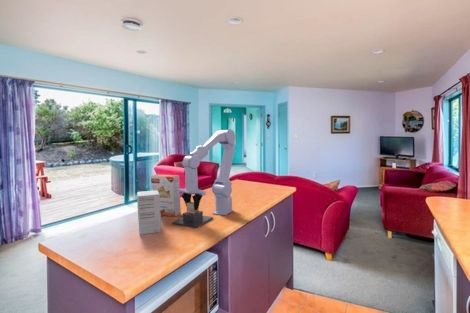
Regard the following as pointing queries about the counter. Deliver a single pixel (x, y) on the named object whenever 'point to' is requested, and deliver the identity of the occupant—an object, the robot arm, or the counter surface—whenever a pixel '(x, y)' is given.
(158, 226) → the supplement box
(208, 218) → the stand
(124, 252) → the counter surface
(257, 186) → the counter surface
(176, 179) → the cracker box
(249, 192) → the counter surface
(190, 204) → the birch post
